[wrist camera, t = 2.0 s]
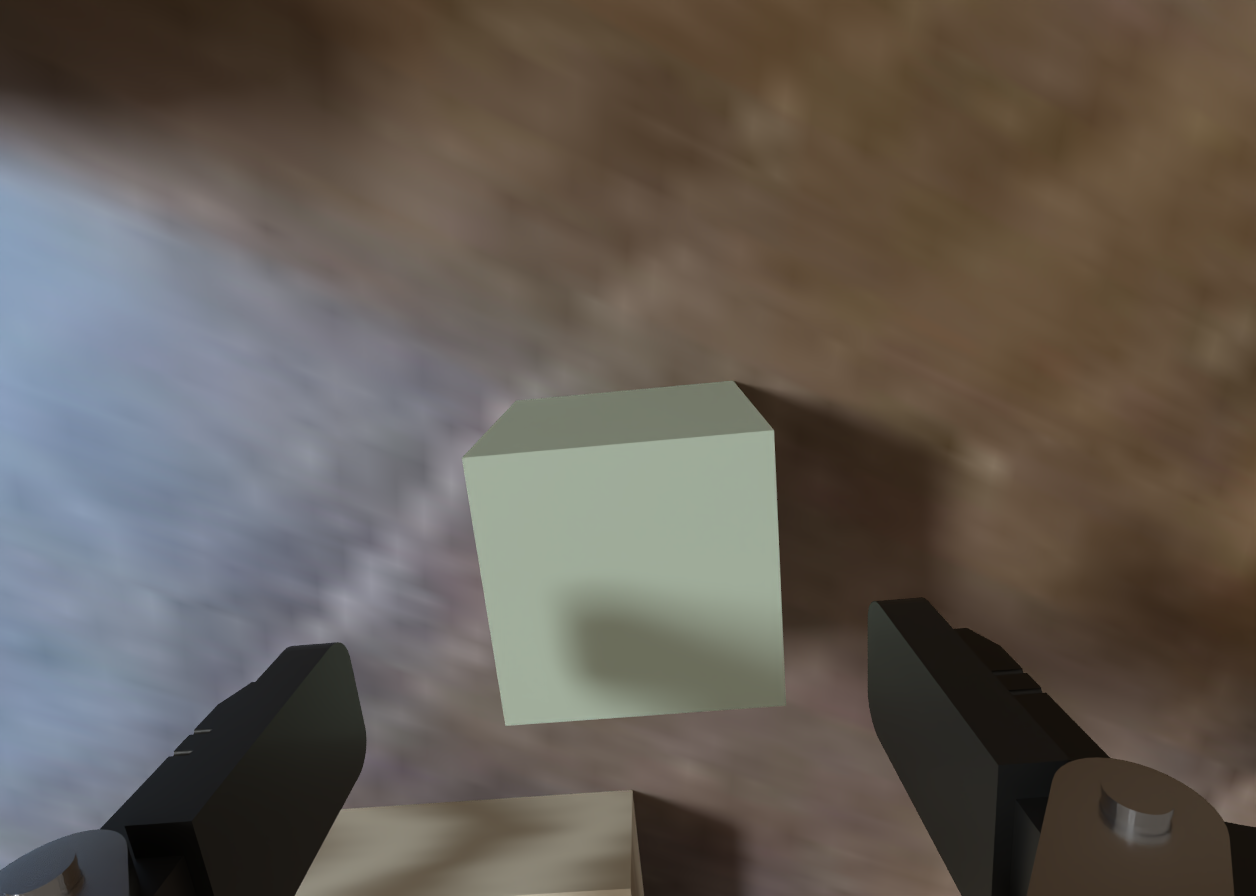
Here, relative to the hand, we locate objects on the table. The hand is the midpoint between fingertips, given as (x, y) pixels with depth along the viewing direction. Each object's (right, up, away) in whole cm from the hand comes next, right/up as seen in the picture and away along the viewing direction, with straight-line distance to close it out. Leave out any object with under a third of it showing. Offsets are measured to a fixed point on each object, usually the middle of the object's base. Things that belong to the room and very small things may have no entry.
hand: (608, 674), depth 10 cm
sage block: (0, +2, +9) cm, 9 cm away
